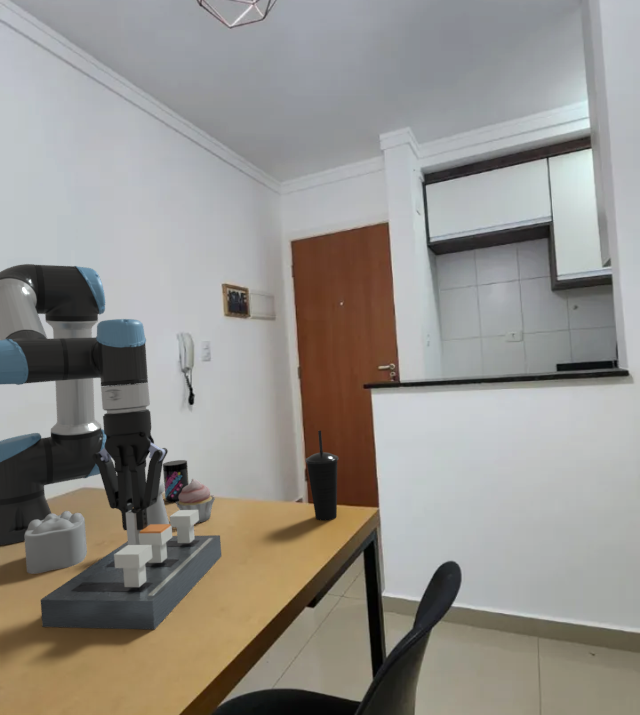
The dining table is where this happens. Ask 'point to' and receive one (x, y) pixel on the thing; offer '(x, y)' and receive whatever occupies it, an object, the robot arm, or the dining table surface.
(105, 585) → the panel
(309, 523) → the dining table surface
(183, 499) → the cupcake
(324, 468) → the drinking cup
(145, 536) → the block
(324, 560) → the dining table surface
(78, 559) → the lumpy-topped squat cylinder
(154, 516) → the salt shaker
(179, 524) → the breaker
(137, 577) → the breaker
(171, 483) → the supplement container
